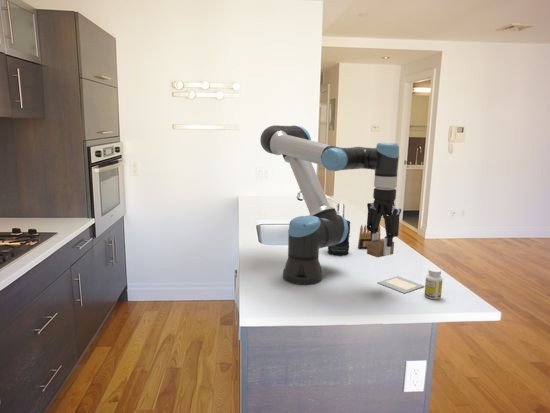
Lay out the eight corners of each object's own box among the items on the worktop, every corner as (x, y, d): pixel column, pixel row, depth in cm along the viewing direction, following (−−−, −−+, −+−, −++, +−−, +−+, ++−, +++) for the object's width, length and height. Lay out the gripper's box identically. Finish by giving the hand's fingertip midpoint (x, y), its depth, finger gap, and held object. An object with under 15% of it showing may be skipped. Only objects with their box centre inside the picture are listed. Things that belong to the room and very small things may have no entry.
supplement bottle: (436, 293, 147) (439, 267, 145) (443, 299, 142) (446, 272, 140) (421, 293, 147) (424, 267, 145) (427, 299, 141) (430, 272, 139)
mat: (404, 293, 146) (404, 292, 146) (377, 283, 156) (377, 281, 155) (424, 286, 153) (424, 285, 153) (397, 277, 163) (397, 275, 162)
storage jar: (348, 256, 187) (350, 224, 184) (326, 255, 189) (328, 223, 186) (349, 250, 197) (350, 219, 194) (328, 249, 198) (329, 218, 196)
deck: (377, 257, 143) (378, 244, 142) (366, 253, 147) (367, 241, 146) (393, 254, 147) (394, 241, 146) (382, 250, 151) (383, 238, 150)
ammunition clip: (359, 249, 199) (360, 225, 197) (357, 248, 201) (359, 224, 199) (380, 248, 201) (382, 224, 198) (378, 247, 202) (380, 223, 200)
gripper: (413, 190, 137) (408, 258, 142) (373, 184, 152) (369, 245, 156) (398, 192, 133) (393, 261, 137) (358, 185, 148) (354, 248, 152)
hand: (380, 252), depth 147 cm, fingers closed on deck, 5 cm apart
